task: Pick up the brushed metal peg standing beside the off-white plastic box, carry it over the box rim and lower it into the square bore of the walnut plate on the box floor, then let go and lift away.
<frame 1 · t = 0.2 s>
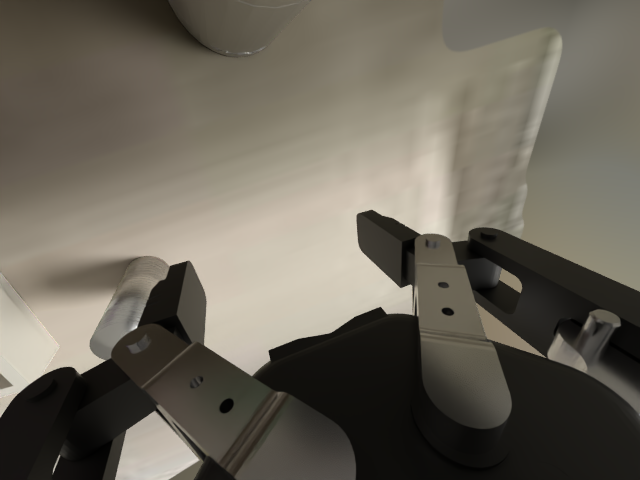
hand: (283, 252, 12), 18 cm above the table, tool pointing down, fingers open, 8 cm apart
peg: (149, 271, 28), on the table
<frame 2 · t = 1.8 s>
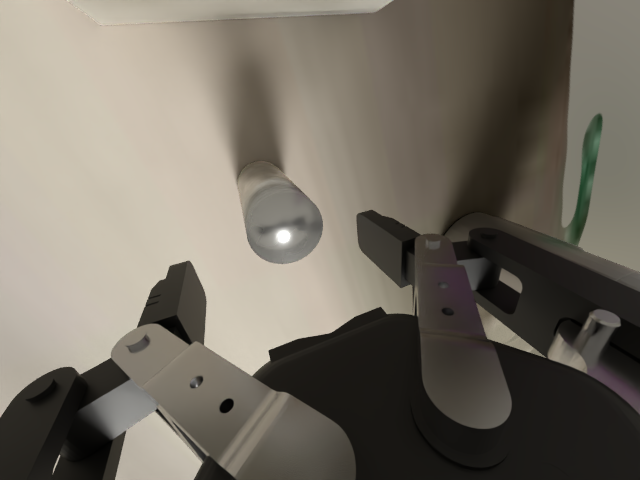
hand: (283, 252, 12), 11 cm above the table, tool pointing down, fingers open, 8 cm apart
peg: (261, 185, 22), on the table
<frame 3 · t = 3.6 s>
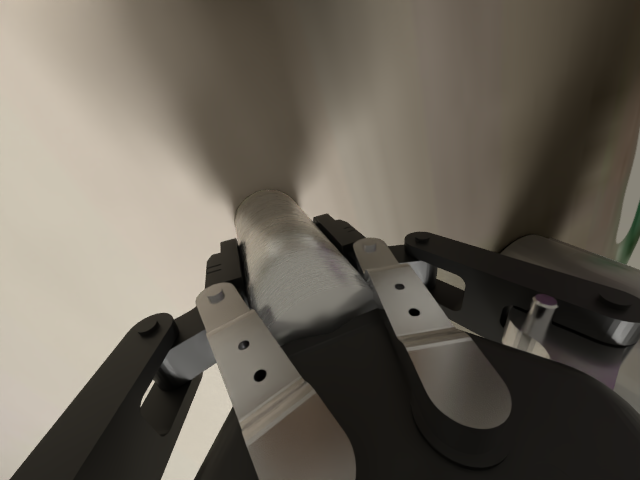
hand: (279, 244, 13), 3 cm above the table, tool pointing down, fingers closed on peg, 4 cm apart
peg: (269, 221, 16), on the table, touching gripper
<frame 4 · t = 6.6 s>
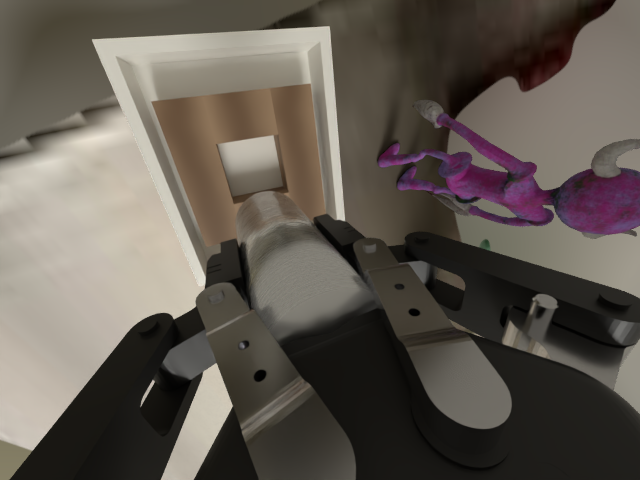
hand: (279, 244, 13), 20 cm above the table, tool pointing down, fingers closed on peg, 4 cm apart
bore plate: (253, 167, 27), in the box, point 2 cm above the table
peg: (269, 222, 16), point 16 cm above the table, touching gripper
toy: (404, 158, 36), on the table
box: (251, 164, 29), on the table
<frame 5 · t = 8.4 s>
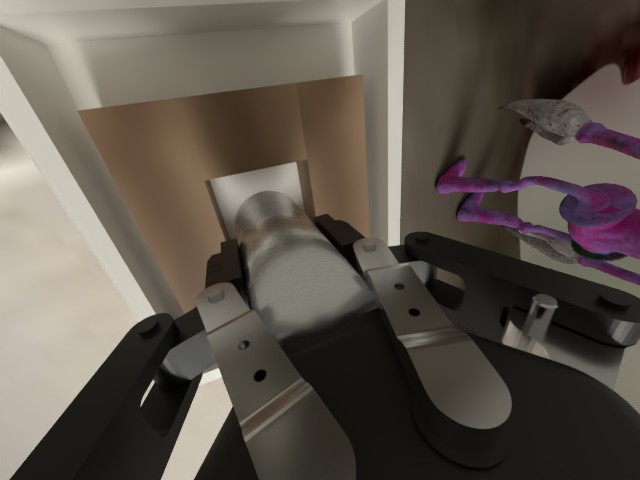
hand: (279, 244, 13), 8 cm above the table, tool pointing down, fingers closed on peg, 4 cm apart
bore plate: (266, 209, 17), in the box, point 2 cm above the table
peg: (269, 222, 16), point 5 cm above the table, touching gripper
toy: (468, 179, 26), on the table
box: (261, 199, 19), on the table
when the fingers open (5 cm above the table, at t = 9.9 s): peg stays where it is, resting on box.
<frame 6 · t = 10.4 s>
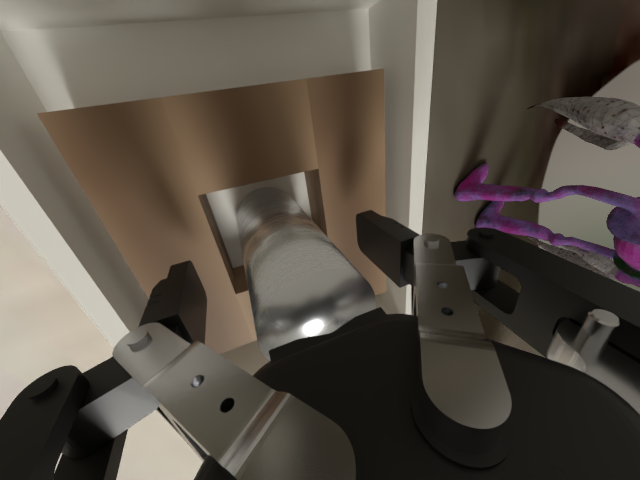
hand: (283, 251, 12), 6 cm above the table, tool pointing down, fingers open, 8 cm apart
bore plate: (270, 224, 15), in the box, point 2 cm above the table
peg: (268, 217, 17), point 1 cm above the table, touching box
toy: (489, 184, 24), on the table
box: (263, 211, 17), on the table
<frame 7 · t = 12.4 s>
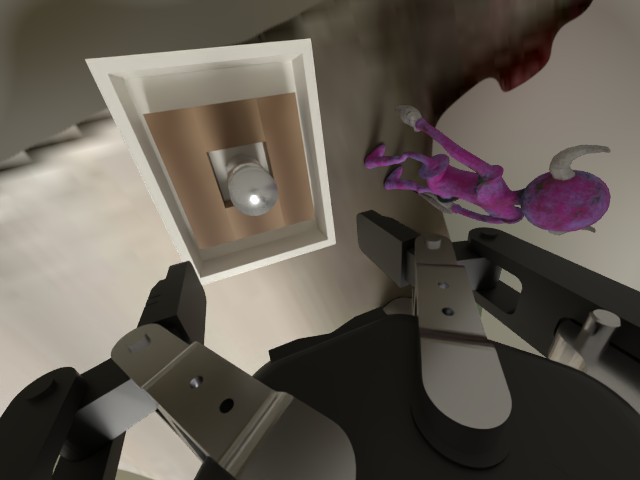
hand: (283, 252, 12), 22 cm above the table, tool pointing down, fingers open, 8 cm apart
bore plate: (243, 173, 28), in the box, point 2 cm above the table
peg: (243, 171, 30), point 1 cm above the table, touching box
toy: (390, 159, 37), on the table
box: (241, 169, 31), on the table
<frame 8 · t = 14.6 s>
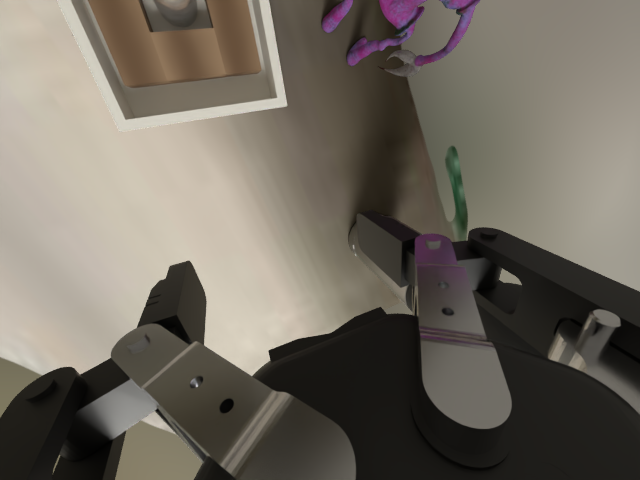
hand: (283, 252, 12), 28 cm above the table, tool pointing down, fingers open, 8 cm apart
peg: (176, 3, 26), point 1 cm above the table, touching box
toy: (352, 27, 34), on the table
box: (176, 5, 27), on the table
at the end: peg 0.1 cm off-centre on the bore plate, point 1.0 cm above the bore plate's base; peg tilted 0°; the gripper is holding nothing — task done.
